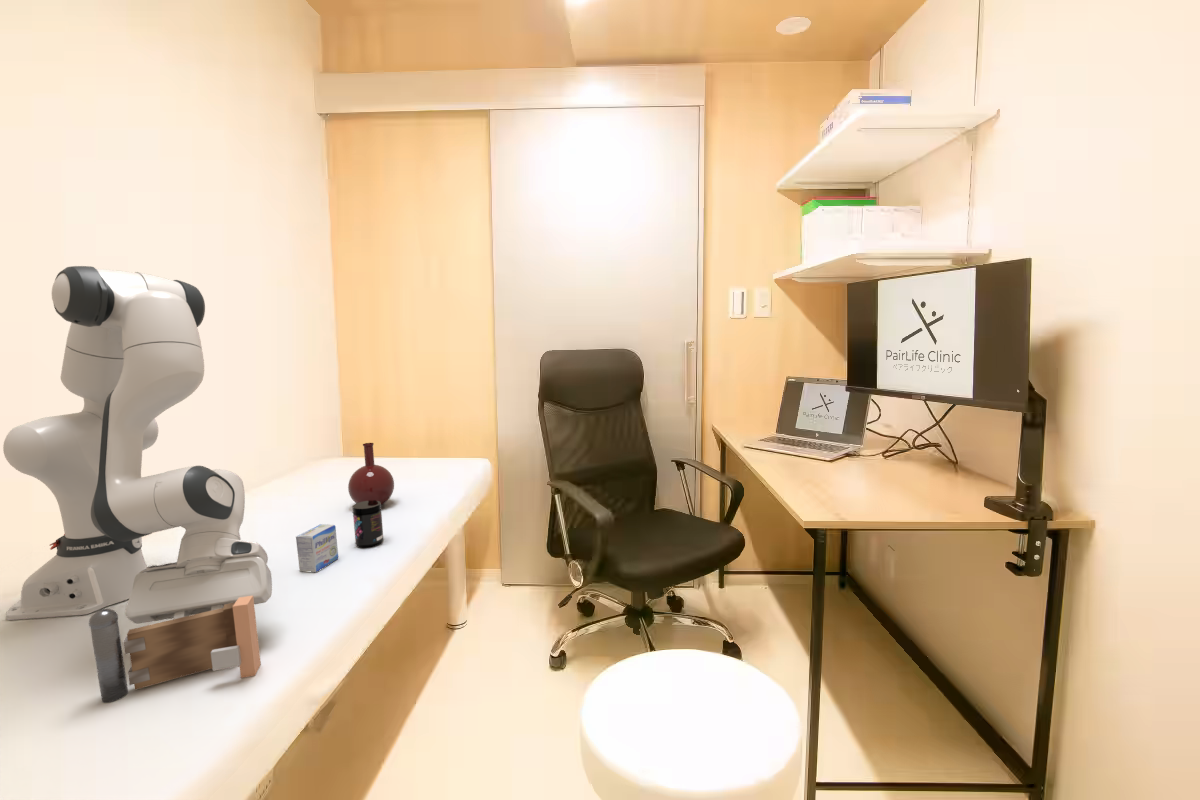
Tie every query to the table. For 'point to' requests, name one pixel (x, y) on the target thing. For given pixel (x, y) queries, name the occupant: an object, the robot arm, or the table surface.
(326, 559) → the medicine box
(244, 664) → the latch post
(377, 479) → the round-bottom flask
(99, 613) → the hinge post
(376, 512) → the supplement container
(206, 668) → the gate
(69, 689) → the table surface
